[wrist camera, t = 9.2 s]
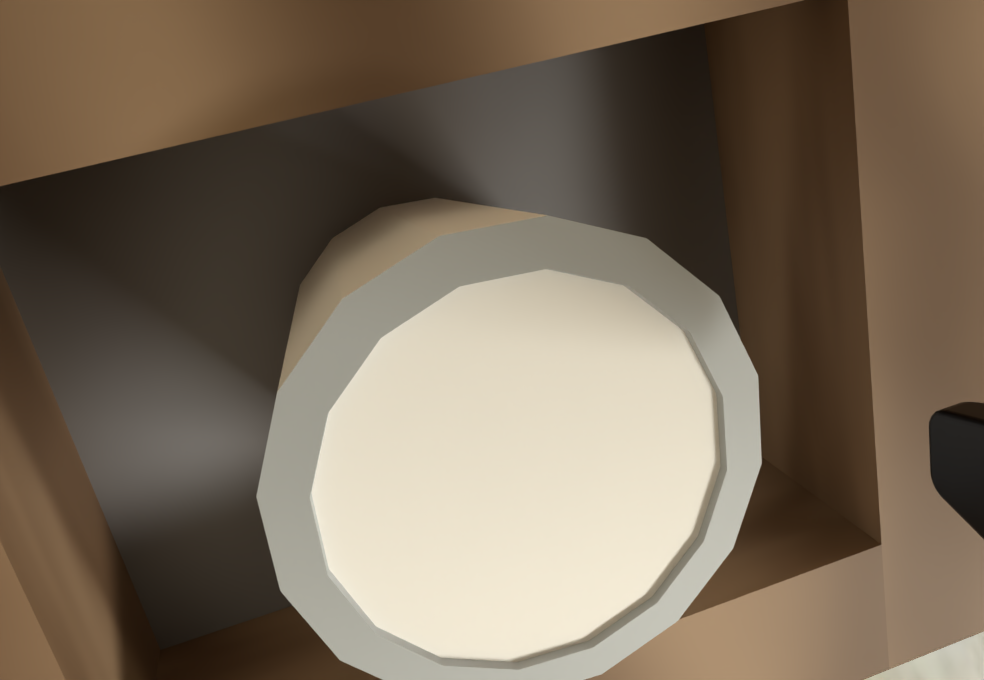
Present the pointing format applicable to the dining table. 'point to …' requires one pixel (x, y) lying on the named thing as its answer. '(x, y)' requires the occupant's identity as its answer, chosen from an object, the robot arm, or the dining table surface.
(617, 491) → the cream and grey cup
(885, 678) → the dining table surface
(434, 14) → the well box
